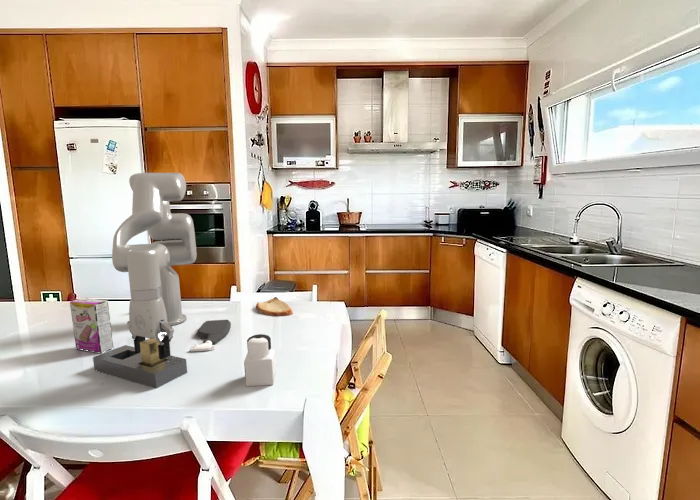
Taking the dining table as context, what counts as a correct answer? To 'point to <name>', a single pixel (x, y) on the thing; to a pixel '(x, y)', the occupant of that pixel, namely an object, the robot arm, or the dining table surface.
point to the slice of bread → (274, 308)
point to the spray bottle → (211, 334)
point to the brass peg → (150, 352)
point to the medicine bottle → (259, 361)
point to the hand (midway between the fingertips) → (152, 354)
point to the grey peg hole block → (139, 367)
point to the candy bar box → (91, 324)
